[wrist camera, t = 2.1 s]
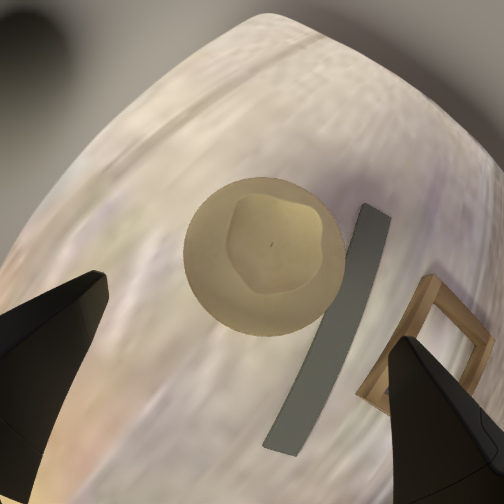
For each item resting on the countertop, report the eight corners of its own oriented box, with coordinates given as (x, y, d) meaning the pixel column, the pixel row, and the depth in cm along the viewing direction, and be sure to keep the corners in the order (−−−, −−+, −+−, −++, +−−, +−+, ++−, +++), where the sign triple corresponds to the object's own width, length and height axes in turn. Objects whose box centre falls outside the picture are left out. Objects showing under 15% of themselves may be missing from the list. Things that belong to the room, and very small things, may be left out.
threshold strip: (362, 204, 20) (364, 202, 19) (388, 219, 20) (391, 217, 19) (262, 444, 15) (263, 447, 15) (295, 454, 15) (296, 456, 15)
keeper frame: (432, 441, 16) (443, 446, 14) (355, 394, 16) (365, 398, 15) (483, 340, 18) (495, 340, 17) (422, 277, 19) (434, 273, 17)
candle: (186, 268, 18) (145, 204, 8) (262, 227, 19) (299, 132, 9) (231, 346, 17) (240, 377, 7) (307, 300, 18) (394, 272, 8)
